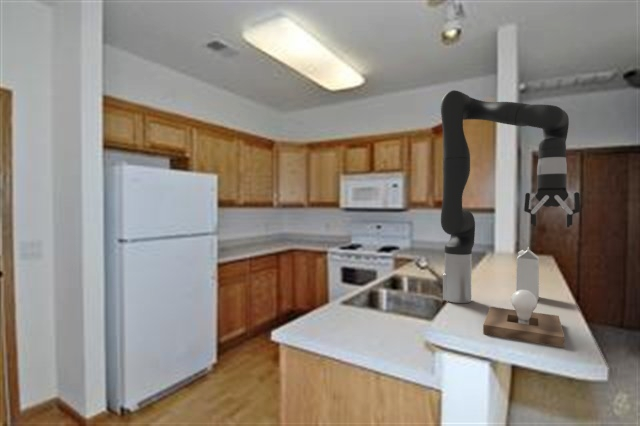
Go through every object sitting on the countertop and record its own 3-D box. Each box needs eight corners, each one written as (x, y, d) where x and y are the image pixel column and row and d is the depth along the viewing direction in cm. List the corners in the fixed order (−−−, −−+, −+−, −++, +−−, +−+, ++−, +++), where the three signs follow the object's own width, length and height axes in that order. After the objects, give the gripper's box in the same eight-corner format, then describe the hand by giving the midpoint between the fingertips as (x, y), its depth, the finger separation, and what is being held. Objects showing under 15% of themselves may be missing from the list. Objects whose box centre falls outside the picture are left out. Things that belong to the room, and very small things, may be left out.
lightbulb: (527, 334, 96) (528, 293, 95) (505, 327, 101) (506, 288, 101) (541, 330, 98) (542, 291, 98) (519, 323, 104) (520, 286, 104)
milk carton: (538, 296, 136) (539, 247, 135) (538, 301, 130) (539, 248, 129) (517, 294, 140) (517, 245, 139) (516, 298, 134) (516, 247, 133)
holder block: (483, 333, 96) (483, 324, 96) (490, 314, 113) (490, 306, 113) (564, 347, 87) (564, 337, 87) (558, 324, 104) (558, 315, 104)
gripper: (524, 173, 109) (523, 226, 109) (582, 171, 102) (581, 228, 102) (524, 175, 115) (524, 225, 116) (579, 173, 108) (578, 227, 108)
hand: (550, 226), depth 109 cm, fingers open, 8 cm apart
